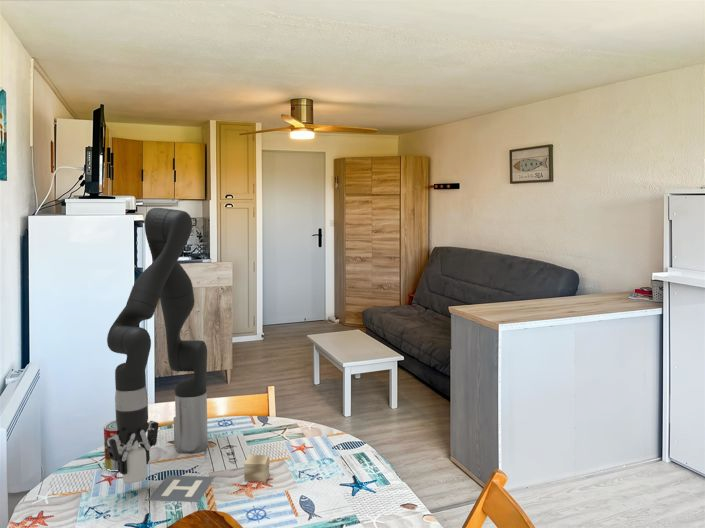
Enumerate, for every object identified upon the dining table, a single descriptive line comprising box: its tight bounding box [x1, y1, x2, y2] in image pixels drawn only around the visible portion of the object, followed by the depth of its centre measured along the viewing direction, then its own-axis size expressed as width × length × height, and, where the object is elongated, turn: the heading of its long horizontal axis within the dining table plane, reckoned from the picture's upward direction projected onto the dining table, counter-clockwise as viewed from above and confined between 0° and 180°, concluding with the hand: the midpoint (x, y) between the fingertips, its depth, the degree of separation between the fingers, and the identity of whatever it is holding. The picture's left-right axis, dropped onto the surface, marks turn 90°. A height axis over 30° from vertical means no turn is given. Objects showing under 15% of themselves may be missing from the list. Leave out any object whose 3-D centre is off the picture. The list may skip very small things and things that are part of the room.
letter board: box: [147, 474, 216, 503], centre depth 141 cm, size 13×13×1 cm
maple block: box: [243, 454, 270, 485], centre depth 147 cm, size 6×6×6 cm
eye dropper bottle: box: [122, 441, 148, 485], centre depth 138 cm, size 4×6×12 cm
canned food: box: [103, 420, 126, 470], centre depth 154 cm, size 8×8×12 cm
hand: (134, 468), depth 138 cm, fingers closed on eye dropper bottle, 5 cm apart
